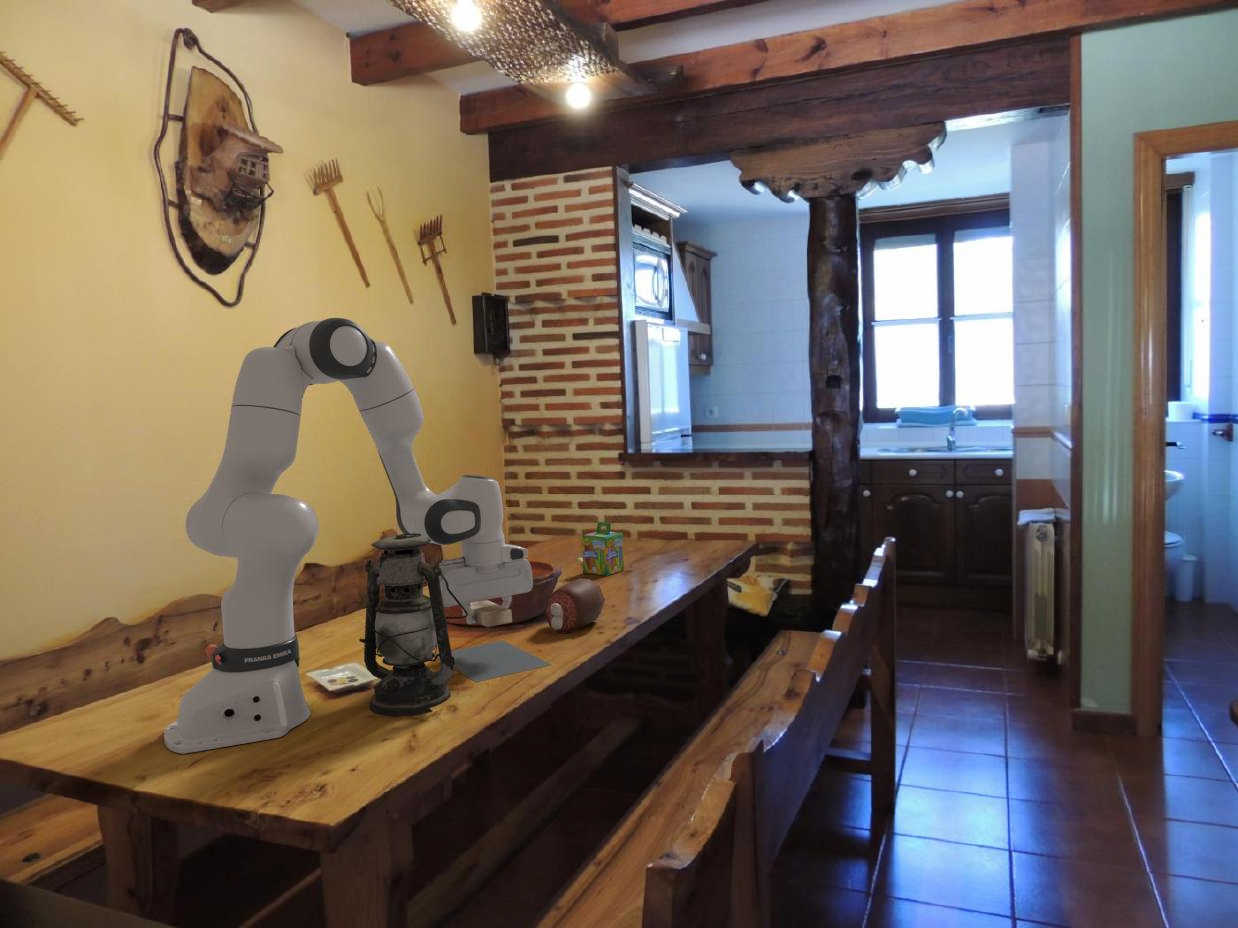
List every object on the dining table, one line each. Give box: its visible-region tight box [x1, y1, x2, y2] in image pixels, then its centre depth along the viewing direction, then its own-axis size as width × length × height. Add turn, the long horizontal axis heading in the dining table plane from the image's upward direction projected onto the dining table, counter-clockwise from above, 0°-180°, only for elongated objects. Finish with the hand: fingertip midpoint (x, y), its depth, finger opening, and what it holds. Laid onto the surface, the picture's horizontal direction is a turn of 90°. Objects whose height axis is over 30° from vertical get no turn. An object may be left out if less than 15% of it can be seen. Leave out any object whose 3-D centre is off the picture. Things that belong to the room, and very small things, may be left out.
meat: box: [543, 578, 606, 634], centre depth 202 cm, size 20×12×10 cm, turn 156°
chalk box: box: [581, 521, 625, 577], centre depth 261 cm, size 9×9×15 cm
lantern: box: [358, 533, 468, 717], centre depth 157 cm, size 19×19×30 cm
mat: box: [435, 639, 552, 683], centre depth 177 cm, size 16×22×1 cm
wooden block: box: [461, 599, 513, 628], centre depth 180 cm, size 6×2×12 cm
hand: (487, 620), depth 180 cm, fingers closed on wooden block, 5 cm apart
